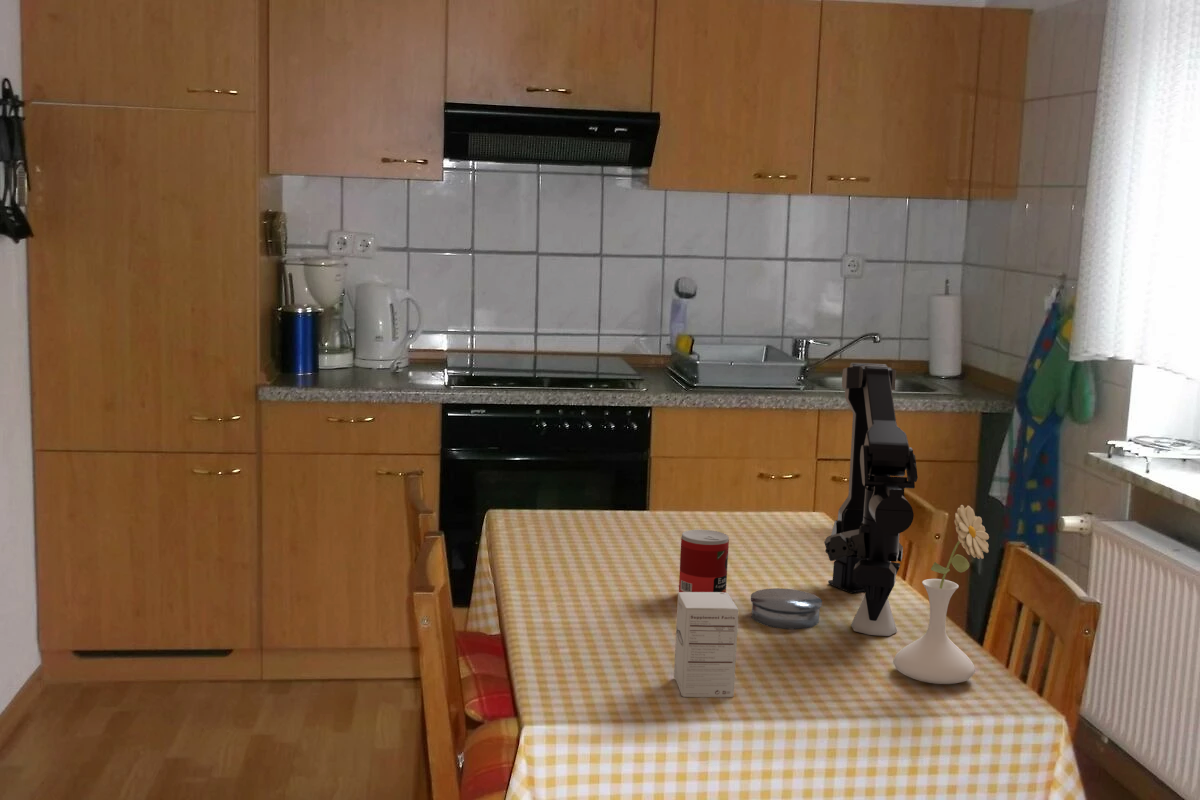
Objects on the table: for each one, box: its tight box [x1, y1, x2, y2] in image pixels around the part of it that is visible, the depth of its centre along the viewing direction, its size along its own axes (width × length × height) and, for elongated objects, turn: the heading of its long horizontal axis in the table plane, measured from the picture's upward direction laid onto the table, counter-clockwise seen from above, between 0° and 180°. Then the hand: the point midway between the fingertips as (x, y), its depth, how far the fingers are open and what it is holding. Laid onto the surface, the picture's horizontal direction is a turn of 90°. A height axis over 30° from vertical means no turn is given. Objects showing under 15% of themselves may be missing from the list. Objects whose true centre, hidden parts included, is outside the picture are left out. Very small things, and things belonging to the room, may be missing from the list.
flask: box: [850, 594, 898, 637], centre depth 205 cm, size 7×7×10 cm
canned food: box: [678, 529, 730, 593], centre depth 218 cm, size 8×8×11 cm
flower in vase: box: [892, 504, 990, 685], centre depth 184 cm, size 13×11×25 cm
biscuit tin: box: [750, 587, 823, 630], centre depth 210 cm, size 11×11×4 cm
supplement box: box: [673, 591, 739, 698], centre depth 177 cm, size 7×7×13 cm
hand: (874, 614), depth 206 cm, fingers open, 6 cm apart
